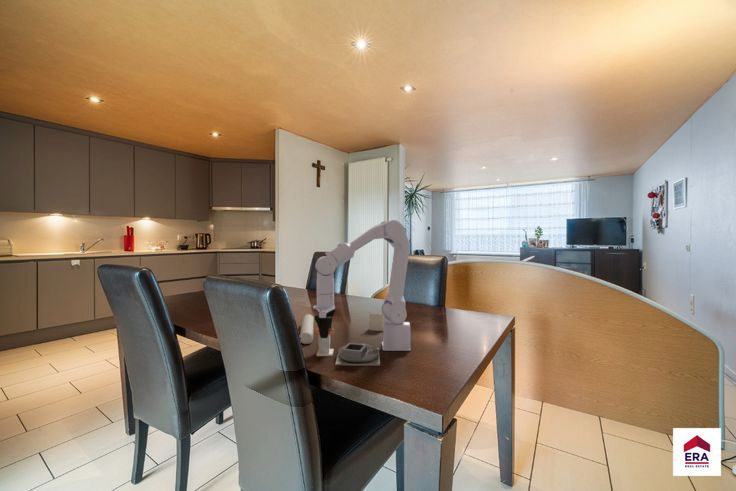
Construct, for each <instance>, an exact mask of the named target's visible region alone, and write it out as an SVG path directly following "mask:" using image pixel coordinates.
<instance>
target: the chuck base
mask: <svg viewBox="0 0 736 491" xmlns="http://www.w3.org/2000/svg"><path fill="white" fill-rule="evenodd" d="M377 348H378V350H379V351H380V349H379V347H377ZM335 366H351V367H353V366H357V367H358V366H362V367H363V366H365V367H366V366H367V367H368V366H372V367H373V366H374V367H375V366H376V367H377V366H378V367H379V366H381V360H380V355H379V356H378V358H377V359H375V360H373V361H370V362H365V363H351V362H346V361H343V360H341V359H340V358H339V357H338V354H337V355H336V359H335Z"/></svg>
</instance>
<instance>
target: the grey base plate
mask: <svg viewBox="0 0 736 491" xmlns="http://www.w3.org/2000/svg"><path fill="white" fill-rule="evenodd" d="M378 348H379V347H377V346H374V345H372V344H367V343H353V342H348V343H347V344H345V345H342V346H341V347H339V348H338V349H337V355H338V357H339V358H340V359H341V360H343V361H346V362H351V363H365V362H370V361H373V360H375V359H377V358H378V356H379V357H380V349H379V350H378Z"/></svg>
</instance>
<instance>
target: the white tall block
mask: <svg viewBox="0 0 736 491" xmlns="http://www.w3.org/2000/svg"><path fill="white" fill-rule="evenodd" d="M313 335H318V350H319V353H329V352H330V349H331V335H335V328H333V327H331V328H329V333H328V337H327V338H321V337H320V333H319V328H318V327H315V328H313Z"/></svg>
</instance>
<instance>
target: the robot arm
mask: <svg viewBox="0 0 736 491" xmlns="http://www.w3.org/2000/svg"><path fill="white" fill-rule="evenodd" d="M380 239H383V240H385V241H386V242H388V244H389V245H390V246H391V247H392V248H393V255H392V256H393V257H392V264H391V270H390V278H389V286H388V293H387V295H386V296H385V298H384V299H385V300H384V302H383V304H382V305H381V314H383V317H384V318H383V331H382V332H383V334H382V338H383V339H382V340H383V341H381V346H382V347H381V348H382V351H383V352H386V351H387V352H388V351H391V352H398V351H399V352H401V351H402V352H410V351H411V350H412V349H411V343H412V342H411V340H412V339H411V323H410V321H405V320H406V319H407V315H408V314H407V312H408V311H407V309H406V300H405V296H404V295H405V294H404V293H405V285H406V278H407V271H408V263H409V255H410V248H411V245H410V241H409V238H408V236H407V233H406V227H405V226H404V225H403V224H402V223H401V222H400V221H399V220H396V219H392V220H388V221H387V220H383V221H381V222H380V223H379V224H376V225H374V226H372V227H371V228H369V229H368V230H366V231H365V232H363V233H362V234H360V236H358V237H356V238H355V239H354V240H352V241H351V242H342V243H340V242H339V243H337V245H336V247H335V248H334V249H332V250H331V251H329V252H328V251H326V252H325V253H324V254H325V255H326V256H320V257H319V258H318V259H317V260H316V263H315V264H314V265H315V269H316V305H313V306H312V309H313V310H316V311H317V312H318V315H314V316H313V317H314V322H316V325H317V328H319V333H320V337H321V338H327V337H328V333H329V328H332V324H333V318H334V314H335V312H336V306H335V277H334V274H335V273H334V272H335V271H336V268H339V267H341V266H342V265H344V264H345V263H347V262H348V261H350V260H351V259H353V258H354V257H355V252H356V251H358V250H359V249H361V248H363V247H365V246H366V245H368V244H369V243H371V242H372V241H374V240H380Z"/></svg>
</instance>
